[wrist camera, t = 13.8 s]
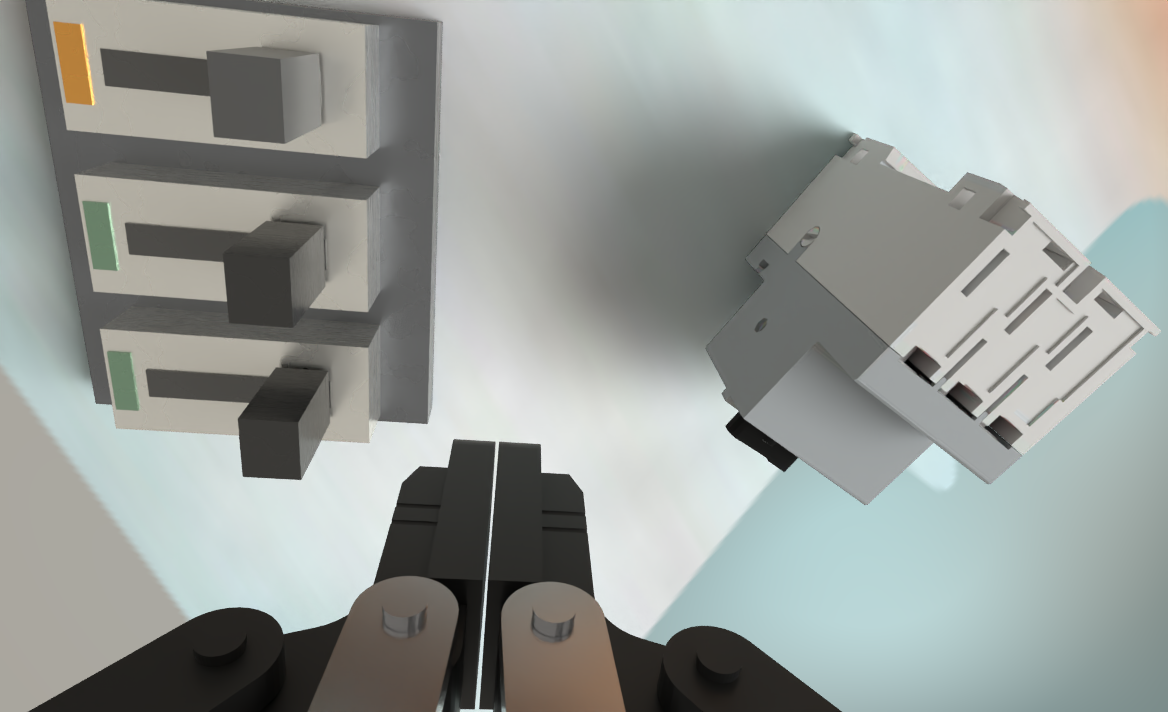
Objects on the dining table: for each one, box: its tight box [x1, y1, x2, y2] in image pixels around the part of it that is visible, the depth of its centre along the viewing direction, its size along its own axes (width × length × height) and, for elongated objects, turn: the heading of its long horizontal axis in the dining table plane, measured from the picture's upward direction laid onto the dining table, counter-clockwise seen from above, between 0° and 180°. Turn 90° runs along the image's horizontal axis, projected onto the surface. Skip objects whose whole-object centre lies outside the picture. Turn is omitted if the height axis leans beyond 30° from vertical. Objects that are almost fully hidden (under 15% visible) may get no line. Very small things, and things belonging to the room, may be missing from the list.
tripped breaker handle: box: [206, 47, 321, 144], centre depth 28 cm, size 3×2×5 cm
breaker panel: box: [25, 0, 443, 480], centre depth 33 cm, size 20×17×10 cm
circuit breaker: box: [706, 133, 1161, 505], centre depth 34 cm, size 8×14×15 cm, turn 142°
